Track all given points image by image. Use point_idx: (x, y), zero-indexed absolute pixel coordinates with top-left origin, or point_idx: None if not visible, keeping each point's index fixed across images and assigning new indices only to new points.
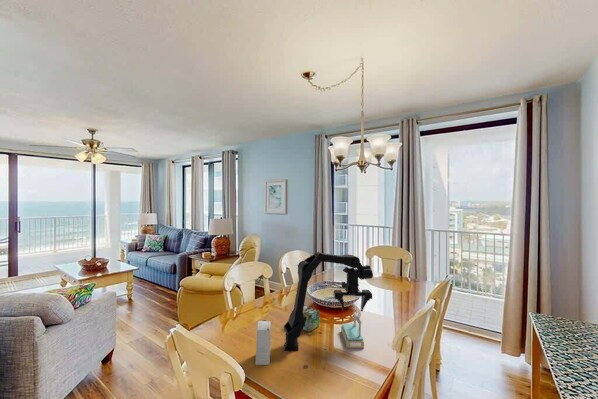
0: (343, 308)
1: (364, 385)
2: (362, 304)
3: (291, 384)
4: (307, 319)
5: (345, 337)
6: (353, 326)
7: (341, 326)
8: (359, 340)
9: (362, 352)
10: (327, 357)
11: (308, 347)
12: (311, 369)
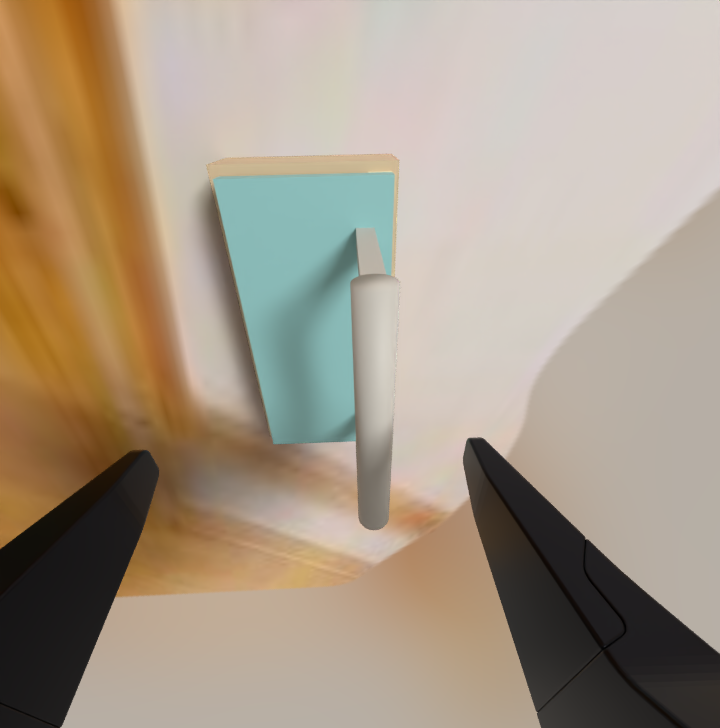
0: (121, 552)
1: (325, 570)
2: (518, 628)
3: None
4: None
5: (259, 386)
6: (347, 249)
7: (211, 176)
8: None
9: None
10: (174, 478)
11: (31, 414)
12: None
